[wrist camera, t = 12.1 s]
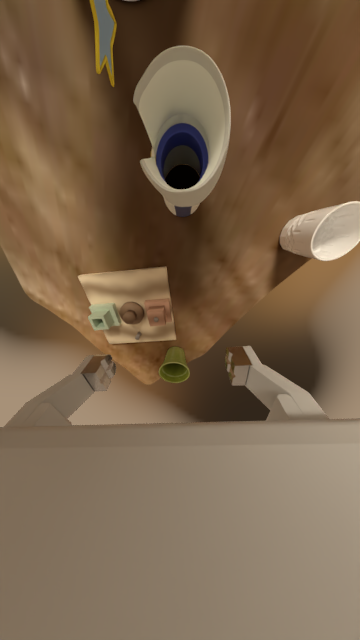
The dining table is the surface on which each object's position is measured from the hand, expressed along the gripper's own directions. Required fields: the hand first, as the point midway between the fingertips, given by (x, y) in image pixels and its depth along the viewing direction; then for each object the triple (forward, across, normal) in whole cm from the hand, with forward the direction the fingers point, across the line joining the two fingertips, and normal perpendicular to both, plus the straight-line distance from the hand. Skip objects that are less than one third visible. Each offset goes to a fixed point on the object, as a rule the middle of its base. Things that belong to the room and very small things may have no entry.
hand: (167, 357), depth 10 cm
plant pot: (+29, +4, +28) cm, 41 cm away
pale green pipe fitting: (+28, +21, +10) cm, 36 cm away
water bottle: (+29, -2, -14) cm, 33 cm away
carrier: (+29, +14, +10) cm, 34 cm away
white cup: (+29, -26, -5) cm, 40 cm away
